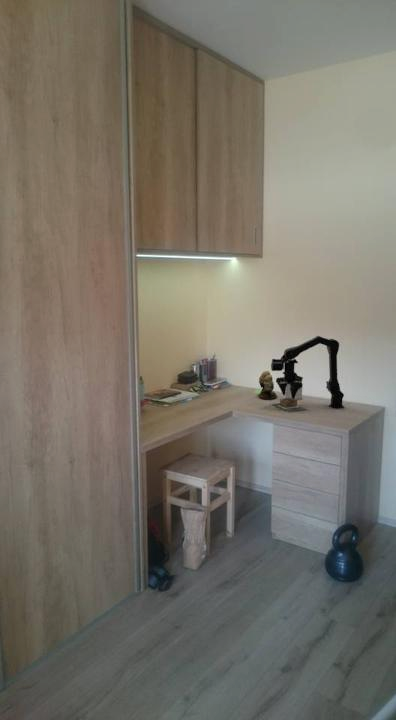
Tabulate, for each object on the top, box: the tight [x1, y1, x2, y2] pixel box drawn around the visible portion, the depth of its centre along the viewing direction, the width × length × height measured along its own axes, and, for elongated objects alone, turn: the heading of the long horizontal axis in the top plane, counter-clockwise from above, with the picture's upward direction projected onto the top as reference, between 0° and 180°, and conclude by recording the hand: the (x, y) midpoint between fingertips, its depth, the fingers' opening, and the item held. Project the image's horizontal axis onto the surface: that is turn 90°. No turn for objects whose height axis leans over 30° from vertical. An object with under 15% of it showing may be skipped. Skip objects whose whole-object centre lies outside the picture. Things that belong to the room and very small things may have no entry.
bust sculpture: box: [258, 370, 278, 401], centre depth 329 cm, size 18×12×17 cm, turn 0°
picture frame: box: [271, 402, 307, 413], centre depth 305 cm, size 18×12×1 cm, turn 25°
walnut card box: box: [279, 397, 298, 408], centre depth 305 cm, size 8×6×4 cm
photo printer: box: [285, 381, 303, 400], centre depth 325 cm, size 10×4×12 cm, turn 98°
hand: (288, 397), depth 304 cm, fingers open, 9 cm apart
